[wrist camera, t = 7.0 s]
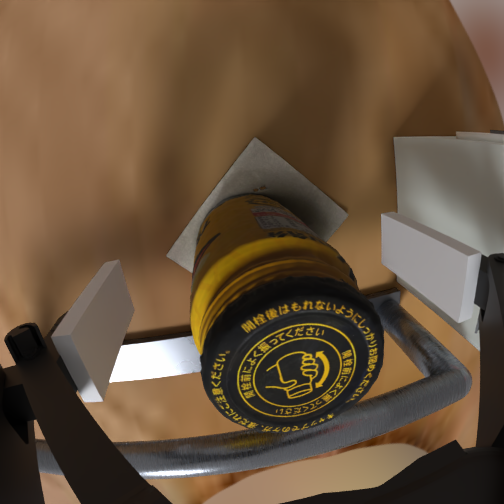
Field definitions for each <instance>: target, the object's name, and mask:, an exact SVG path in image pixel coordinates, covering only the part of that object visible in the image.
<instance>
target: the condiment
mask: <svg viewBox="0 0 504 504" xmlns="http://www.w3.org/2000/svg"><path fill="white" fill-rule="evenodd" d="M263 186H265V187H266V189H263V190H261V189H260V187H263ZM254 189H258V191H257V192H254V191H253V190H254ZM347 216H348V214H347V213H346V212H345V211H344V210H343V209H342V208H340V207H339V206H338V205H337V204H336V203H335V202H333V201H332V200H331V199H330V198H329V197H328V196H326V195H325V194H324V193H323V192H322V191H321V190H320V189H318V188H317V187H316V186H315V185H314V184H312V183H311V182H310V181H309V180H308V179H306V178H305V177H304V176H303V175H302V174H301V173H299V172H298V171H296V170H295V169H294V168H293V167H292V166H291V165H290V164H288V163H287V162H286V161H285V160H284V159H282V158H281V157H280V156H278V155H277V154H276V153H275V152H273V151H272V150H271V149H270V148H269V147H267V146H266V145H265V144H263V143H262V142H261V141H260V140H258V139H257V138H256V137H254V139H253V140H252V141H251V142H250V143H249V145H248V146H247V147H246V149H245V150H244V151H243V152H242V154H241V155H240V156H239V157H238V159H237V160H236V161H235V163H234V164H233V165H232V167H231V168H230V169H229V171H228V172H227V173H226V174H225V176H224V177H223V178H222V180H221V181H220V182H219V183H218V185H217V186H216V187H215V189H214V190H213V191H212V193H211V194H210V195H209V197H208V198H207V199H206V201H205V202H204V203H203V205H202V206H201V207H200V209H199V210H198V211H197V213H196V214H195V216H194V217H193V218H192V220H191V221H190V222H189V224H188V225H187V227H186V228H185V229H184V231H183V232H182V234H181V235H180V236H179V238H178V239H177V241H176V242H175V243H174V245H173V246H172V248H171V249H170V251H169V252H168V254H167V255H166V256H167V257H168V258H170V259H172V260H173V261H174V262H176V263H177V264H179V265H180V266H182V267H184V268H185V269H187V270H188V271H190V272H191V273H193V274H192V286H191V296H190V325H191V330H192V335H193V338H194V342H195V345H196V347H197V350H198V352H199V353H200V355H201V356H200V362H201V371H200V373H201V376H202V381H203V386H204V389H205V391H206V394H207V396H208V398H209V400H210V401H211V402H212V403H213V405H214V406H215V407H216V408H217V410H218V411H219V412H220V413H221V414H222V415H223V416H224V417H226V418H228V419H229V420H231V421H232V422H234V423H237V424H239V425H242V426H244V427H246V428H248V429H252V430H255V431H256V432H258V433H264V432H271V433H291V432H298V431H302V430H305V429H309V428H313V427H316V426H319V425H322V424H324V423H326V422H329V421H331V420H333V419H334V418H336V417H337V416H339V415H340V414H342V413H343V412H345V411H346V410H348V409H350V408H351V407H352V406H354V405H355V404H356V403H357V402H358V401H359V400H360V399H361V398H362V397H363V396H364V395H365V394H366V393H367V392H368V391H369V389H370V388H371V386H372V385H373V384H374V382H375V381H376V379H377V378H378V375H379V372H380V370H381V368H382V365H383V357H384V335H383V334H384V330H383V326H382V324H381V318H380V316H379V315H378V313H377V312H376V310H375V308H374V304H373V303H372V302H370V301H369V300H368V299H366V297H365V296H364V295H363V294H362V293H361V291H360V290H359V288H358V286H357V280H356V278H355V276H354V274H353V271H352V269H351V268H350V266H349V265H348V264H347V263H346V261H345V260H344V259H343V257H342V256H341V255H340V254H339V252H338V251H337V250H336V249H334V248H333V247H332V246H331V245H329V244H328V243H326V242H327V241H328V239H329V238H330V237H331V236H332V235H333V233H334V232H335V231H336V230H337V229H338V228H339V227H340V225H341V224H342V223H343V221H344V220H345V219H346V218H347Z"/></svg>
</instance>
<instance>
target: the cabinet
mask: <svg viewBox="0 0 504 504" xmlns="http://www.w3.org/2000/svg"><path fill="white" fill-rule="evenodd" d="M393 139H394V150H395V164H396V180H397V206H398V214H400V215H402V216H405V217H407V218H409V219H412V220H414V221H416V222H419V223H421V224H423V225H425V226H427V227H430V228H432V229H434V230H436V231H438V232H441V233H443V234H445V235H447V236H449V237H451V238H453V239H456V240H458V241H460V242H462V243H464V244H466V245H468V246H470V247H472V248H474V249H476V250H478V251H480V252H482V254H483V255H485V256H487V257H488V256H489V255H491V254H495V253H504V131H498V130H490V133H482V132H458V131H456V136H413V137H393ZM397 282H398V283H399V284H401V285H402V286H403V287H404V288H406V289H407V290H408V291H409V292H411V293H412V294H413V295H414V296H416V297H417V298H418V299H419V300H420V301H422V302H423V303H424V304H425V305H427V306H428V307H429V308H430V309H431V310H433V311H434V312H435V313H436V314H437V315H439V316H440V317H441V318H442V319H443V320H444V321H446V322H447V323H448V324H449V325H450V326H452V327H453V328H454V329H455V330H456V331H457V332H458V333H460V334H461V335H462V336H463V337H464V338H465V339H467V340H468V341H469V342H470V343H471V344H472V345H473V346H474V347H476V348H477V349H478V350H479V351H480V337H479V330H478V332H477V333H475V329H476V325H477V320H478V316H479V311H480V307H478V306H477V305H476V304H474V307H473V313H472V317H471V318H470V319H468V320H465V321H463V322H460V323H457V322H456V321H455V320H454V319H452V318H451V317H450V316H449V315H447V314H446V313H445V312H444V311H442V310H441V309H440V308H439V307H437V306H436V305H435V304H434V303H432V302H431V301H430V300H429V299H427V298H426V297H425V296H424V295H422V294H421V293H420V292H418V291H417V290H416V289H415V288H413V287H412V286H411V285H409V284H408V283H407V282H406V281H404V280H403V279H402V278H400V277H399V276H398V275H397Z"/></svg>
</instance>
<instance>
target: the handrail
mask: <svg viewBox="0 0 504 504" xmlns="http://www.w3.org/2000/svg"><path fill="white" fill-rule="evenodd" d="M365 297H366V299H368V300H369V301H370V302H372V303H373V304H374V308H375V310H376V312H377V313H378V315H379V316H380V318H381V324H382V326H383V330H385V331H386V332H387V333H388V334H389V336H390V337H391V338H392V339H393V340H394V341H395V342H396V343H397V345H398V346H399V347H400V348H401V349H402V350H403V351H404V353H405V354H406V355H407V356H408V357H409V358H410V360H411V361H412V362H413V363H414V364H415V365H416V366H417V368H418V369H419V370H420V371H421V372H422V373H423V375H424V376H425V378H423V379H421V380H418V381H416V382H413V383H411V384H408V385H405V386H403V387H400V388H398V389H395V390H392V391H389V392H387V393H384V394H381V395H378V396H375V397H372V398H369V399H366V400H363V401H360V402H357V403H356V404H355V405H354V406H352V407H351V408H350V409H348V410H346V411H345V412H343V413H342V414H340V415H339V416H337V417H336V418H334V419H333V420H331V421H329V422H326V423H324V424H322V425H319V426H316V427H313V428H309V429H305V430H302V431H298V432H291V433H271V432H264V433H258V432H256V431H255V430H252V429H246V430H240V431H234V432H228V433H221V434H214V435H206V436H198V437H189V438H179V439H168V440H153V441H133V442H112V443H113V444H114V445H115V446H116V448H117V449H118V450H119V451H120V452H121V454H122V455H123V456H124V457H125V458H126V459H127V460H128V462H129V463H130V464H131V465H132V466H133V467H134V468H135V469H136V471H137V472H138V473H139V474H140V475H141V476H142V477H143V478H144V479H170V478H186V477H198V476H208V475H217V474H225V473H232V472H239V471H245V470H251V469H257V468H262V467H268V466H273V465H278V464H282V463H287V462H291V461H296V460H300V459H304V458H308V457H312V456H316V455H319V454H323V453H327V452H330V451H334V450H337V449H340V448H343V447H347V446H350V445H353V444H356V443H359V442H362V441H365V440H368V439H371V438H373V437H376V436H379V435H382V434H384V433H387V432H390V431H392V430H395V429H397V428H400V427H402V426H405V425H407V424H409V423H412V422H414V421H416V420H419V419H421V418H423V417H426V416H428V415H430V414H432V413H434V412H436V411H438V410H441V409H443V408H445V407H447V406H449V405H451V404H453V403H455V402H457V401H459V400H460V399H462V398H464V397H465V396H466V395H467V394H468V392H469V391H470V389H471V386H472V376H471V373H470V372H469V370H468V369H467V368H466V367H465V366H464V365H463V364H462V363H461V362H460V361H459V360H458V359H457V358H456V357H455V356H454V355H453V354H452V353H451V352H450V351H449V350H447V349H446V348H445V347H444V346H443V345H442V344H441V343H440V342H439V341H438V340H437V339H436V338H435V337H434V336H433V335H432V334H431V333H430V332H429V331H428V330H427V329H425V328H424V327H423V326H422V325H421V324H420V323H419V322H418V321H417V320H416V319H415V318H414V317H413V316H411V315H410V314H409V313H408V312H407V311H406V310H405V309H404V308H403V307H402V306H401V305H400V290H399V289H397V288H393V289H389V290H385V291H381V292H377V293H374V294H370V295H366V296H365ZM200 356H201V355H200V353H199V352H198V350H197V347H196V345H195V342H194V338H193V335H192V331H189V332H182V333H176V334H169V335H163V336H156V337H149V338H141V339H134V340H126V341H123V343H122V346H121V349H120V352H119V355H118V358H117V360H116V363H115V366H114V369H113V372H112V375H111V378H110V382H115V381H127V380H137V379H147V378H156V377H164V376H172V375H180V374H187V373H194V372H200V371H201V362H200ZM35 443H36V452H37V460H38V467H39V472H42V473H49V474H56V475H64V474H63V473H62V471H61V469H60V467H59V465H58V463H57V461H56V460H55V458H54V456H53V454H52V452H51V450H50V448H49V446H48V444H47V442H46V440H44V439H35Z"/></svg>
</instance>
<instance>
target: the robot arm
mask: <svg viewBox="0 0 504 504" xmlns="http://www.w3.org/2000/svg"><path fill="white" fill-rule="evenodd" d="M381 231H382V264H383V265H384V266H386V267H387V268H388V269H390V270H391V271H392V272H394V273H395V274H396V275H398V276H399V277H400V278H402V279H403V280H404V281H406V282H407V283H408V284H409V285H411V286H412V287H413V288H415V289H416V290H417V291H418V292H420V293H421V294H422V295H424V296H425V297H426V298H427V299H429V300H430V301H431V302H432V303H434V304H435V305H436V306H437V307H439V308H440V309H441V310H442V311H444V312H445V313H446V314H447V315H449V316H450V317H451V318H452V319H454V320H455V321H456V322H457V323H460V322H463V321H465V320H468V319H470V318H471V317H472V313H473V307H474V304H476V305H477V306H478V307H480V311H479V316H478V320H477V325H476V329H475V333H477V332H478V330H479V337H480V403H479V419H478V431H477V440H476V447H472V448H466V449H462V447H461V446H460V445H459V443H458V442H457V441H456V440H454V441H452V442H450V443H448V444H446V445H444V446H443V447H441V448H439V449H437V450H435V451H433V452H431V453H429V454H426V455H424V456H422V457H420V458H419V459H417V460H416V461H414V462H413V463H412V464H411V465H409V466H408V467H406V468H405V469H404V470H402V471H401V472H400V473H398V474H397V475H395V476H394V477H393V478H391V479H390V480H388V481H387V482H385V483H384V484H382V485H380V486H378V487H375V488H369V489H360V490H352V491H343V492H332V493H322V494H318V495H315V496H311V497H307V498H303V499H299V500H294V501H290V502H285V503H280V504H504V253H495V254H491V255H489V256H488V257H487V256H485V255H483V254H482V252H480V251H478V250H476V249H474V248H472V247H470V246H468V245H466V244H464V243H462V242H460V241H458V240H456V239H453V238H451V237H449V236H447V235H445V234H443V233H441V232H438V231H436V230H434V229H432V228H430V227H427V226H425V225H423V224H421V223H419V222H416V221H414V220H412V219H409V218H407V217H405V216H402V215H400V214H398V213H395V212H388V213H382V214H381ZM133 313H134V307H133V304H132V301H131V297H130V294H129V291H128V288H127V284H126V281H125V278H124V274H123V271H122V267H121V264H120V260H114V261H109V262H105V263H104V264H103V265H102V267H101V268H100V269H99V271H98V272H97V273H96V275H95V276H94V277H93V278H92V280H91V281H90V282H89V284H88V285H87V286H86V288H85V289H84V290H83V292H82V293H81V295H80V296H79V297H78V299H77V300H76V301H75V303H74V304H73V306H72V307H71V308H70V310H69V311H67V312H66V313H65V314H63V315H62V316H61V317H60V318H59V319H58V320H57V321H56V323H55V324H54V326H53V327H52V329H51V330H50V332H49V333H48V334H47V336H46V337H45V339H43V337H42V335H41V333H40V330H39V328H38V326H37V325H36V324H35V323H26V324H22V325H20V326H17V327H16V328H14V329H12V330H11V331H10V332H9V333H8V334H7V335H6V337H5V340H4V341H5V343H6V345H7V347H8V349H9V351H10V353H11V355H12V357H13V359H14V361H15V363H16V365H15V366H11V367H7V368H4V369H3V368H2V366H1V364H0V504H45V501H44V497H43V491H42V486H41V480H40V474H39V467H38V460H37V452H36V443H35V432H34V420H36V419H37V422H38V424H39V426H40V429H41V431H42V433H43V435H44V437H45V439H46V442H47V444H48V446H49V448H50V450H51V452H52V454H53V456H54V458H55V460H56V461H57V463H58V465H59V467H60V469H61V471H62V473H63V474H64V476H65V478H66V480H67V481H68V483H69V485H70V487H71V488H72V490H73V492H74V493H75V495H76V496H77V498H78V500H79V501H80V503H81V504H172V503H171V502H170V501H169V500H168V499H167V498H166V497H165V496H164V495H163V494H162V493H161V492H159V491H158V490H157V489H156V488H155V487H154V486H153V485H152V486H151V485H150V484H149V483H148V482H147V481H146V480H145V479H144V478H143V477H142V476H141V475H140V474H139V473H138V472H137V471H136V469H135V468H134V467H133V466H132V465H131V464H130V463H129V462H128V460H127V459H126V458H125V457H124V456H123V455H122V454H121V452H120V451H119V450H118V449H117V448H116V446H115V445H114V444H113V443H112V441H111V440H110V439H109V438H108V436H107V435H106V434H105V433H104V431H103V430H102V429H101V428H100V426H99V425H98V424H97V422H96V421H95V420H94V418H93V417H92V416H91V414H90V413H89V411H88V410H87V409H86V407H85V406H84V404H83V403H82V402H81V400H80V399H79V397H78V396H77V394H76V392H77V390H78V391H79V393H80V395H81V397H82V399H83V400H84V402H101V401H104V397H105V394H106V391H107V388H108V385H109V382H110V378H111V375H112V372H113V369H114V366H115V363H116V360H117V358H118V355H119V352H120V349H121V346H122V343H123V340H124V338H125V335H126V332H127V329H128V327H129V324H130V321H131V318H132V316H133Z"/></svg>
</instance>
